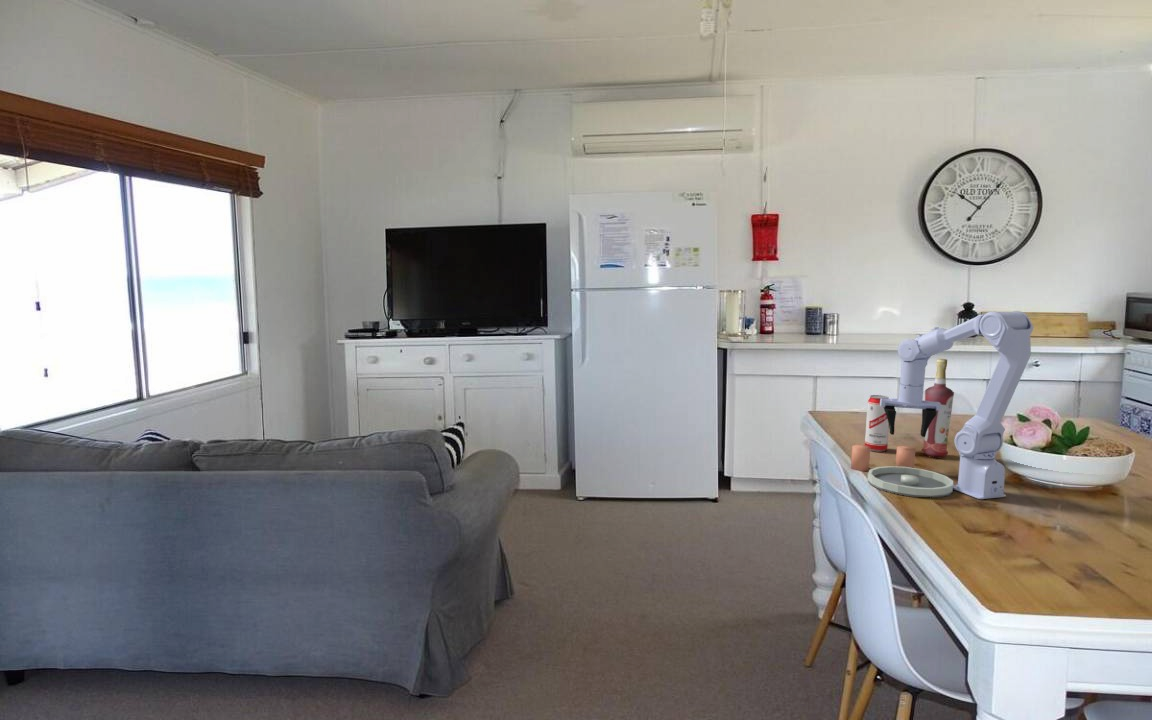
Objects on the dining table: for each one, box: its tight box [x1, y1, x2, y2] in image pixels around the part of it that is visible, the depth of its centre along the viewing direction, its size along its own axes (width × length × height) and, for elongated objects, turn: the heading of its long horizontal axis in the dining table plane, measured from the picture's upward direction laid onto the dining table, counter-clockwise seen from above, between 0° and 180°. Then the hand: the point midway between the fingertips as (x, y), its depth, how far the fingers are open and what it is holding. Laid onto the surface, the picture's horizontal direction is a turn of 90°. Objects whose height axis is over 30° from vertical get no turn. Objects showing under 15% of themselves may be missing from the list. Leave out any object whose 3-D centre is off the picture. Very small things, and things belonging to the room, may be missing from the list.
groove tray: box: [867, 465, 954, 499], centre depth 178 cm, size 19×19×2 cm
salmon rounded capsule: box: [895, 445, 916, 468], centre depth 192 cm, size 4×4×6 cm
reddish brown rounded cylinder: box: [850, 444, 871, 472], centre depth 192 cm, size 4×4×6 cm
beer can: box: [864, 394, 890, 453], centre depth 212 cm, size 6×6×16 cm
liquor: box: [921, 358, 955, 459], centre depth 205 cm, size 7×7×28 cm
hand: (907, 434), depth 191 cm, fingers open, 7 cm apart
